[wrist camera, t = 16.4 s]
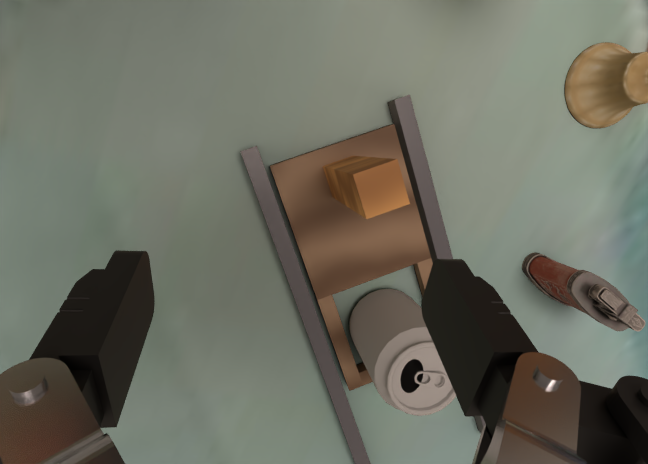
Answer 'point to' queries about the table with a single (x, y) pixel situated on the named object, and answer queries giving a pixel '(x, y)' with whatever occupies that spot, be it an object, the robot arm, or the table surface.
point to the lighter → (582, 292)
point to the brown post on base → (353, 223)
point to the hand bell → (606, 84)
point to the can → (400, 353)
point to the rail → (252, 159)
